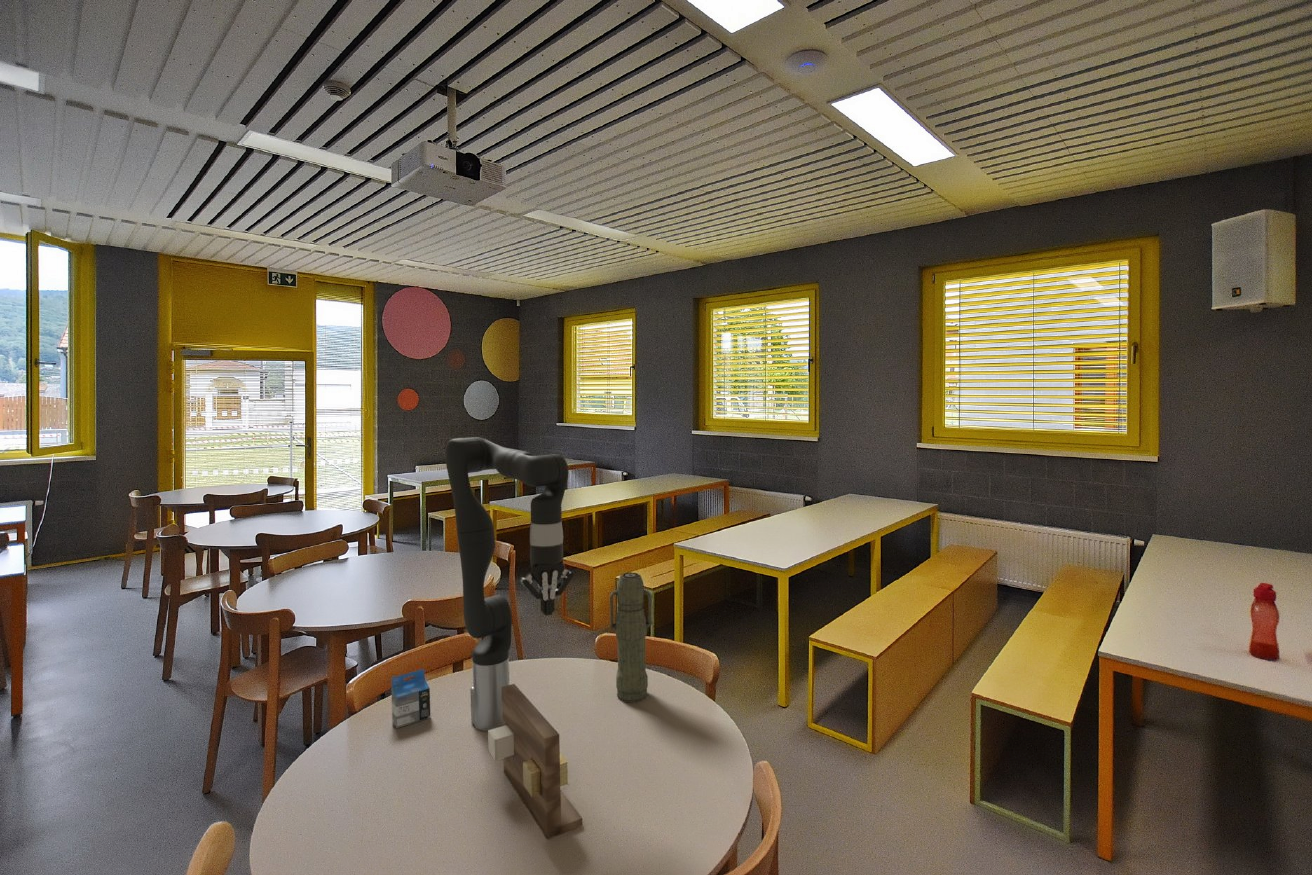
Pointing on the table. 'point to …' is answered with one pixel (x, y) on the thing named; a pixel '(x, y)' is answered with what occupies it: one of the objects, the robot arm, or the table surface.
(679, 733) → the table surface
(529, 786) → the yellow rectangular block
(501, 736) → the key white
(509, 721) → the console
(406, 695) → the label tape cartridge
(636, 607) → the thermos
